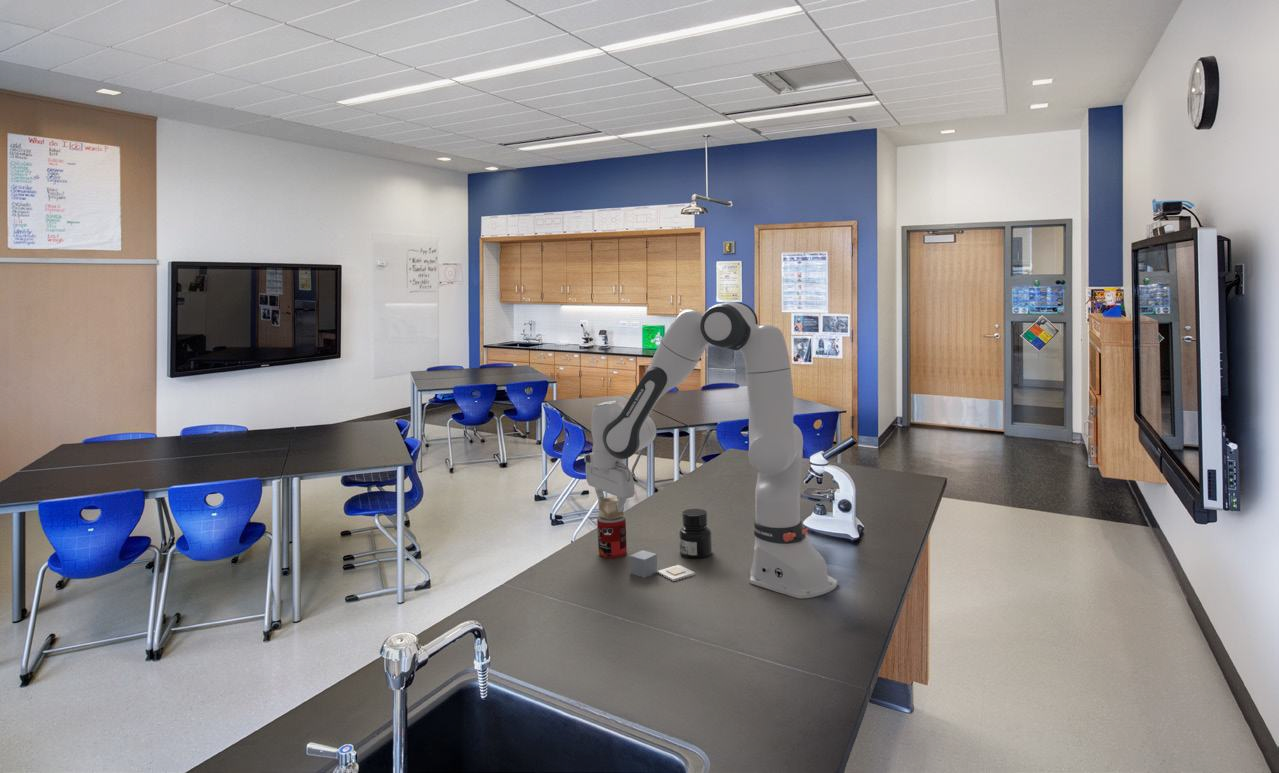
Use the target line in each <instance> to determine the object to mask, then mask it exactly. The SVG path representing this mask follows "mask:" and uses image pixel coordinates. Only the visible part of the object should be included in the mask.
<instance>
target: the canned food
mask: <svg viewBox="0 0 1279 773" xmlns="http://www.w3.org/2000/svg"><path fill="white" fill-rule="evenodd" d="M596 522H597V523H596V524H597V525H596V526H597V540H598V541H597V542H598V543H597V546H598V547H597V548H598V554H599V556H600V557H601V556H602V557H601V558H604V557H605V559H617V558H618V557H619V558H621V557H624V556H625V555H626V554H627V550H628V548H627V547H628V546H627V545H628V544H627V523H626V522H627V521H626V514H624V517H620V518H616V519H612V520H606V519H604V518H602V517H600V516H599V515H597V518H596Z"/></svg>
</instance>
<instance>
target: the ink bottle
mask: <svg viewBox="0 0 1279 773" xmlns="http://www.w3.org/2000/svg"><path fill="white" fill-rule="evenodd" d="M681 515H682V526H683V527H682V528H681V529H680V530H679V541H678V542H679V553H680V555H681V556H682V557H684V558H686V559H692V560H693V559H695V560H697V559H703V558H707V557H710V556H711V554H712V552H713V546H712V545H713V544H712V531H711V528H710V527H708V512H707V510H705V509H702V508H688V509H685V510H683V511H682V514H681Z"/></svg>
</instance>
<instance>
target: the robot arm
mask: <svg viewBox="0 0 1279 773" xmlns="http://www.w3.org/2000/svg"><path fill="white" fill-rule="evenodd" d="M758 320H759V319H758V316H757V314H756V312H755V311H754V309H753V308H752V307H751V306H749V305H748V304H745V303H743V302H733V301H726V302H725V301H724V302H722V303H721V302H720V303H717V304H713V305H712V306H710V307H709V308H708V309H706V311H705V312H704V313H703V312H701V311H698V310H696V309H684V310H682V311H680V313H679V314H678V315H677V317H676V318H675V319H674V320H673V322H671V324H670V325H669V327H668V329H667V330H666V332H665V334H664V335H663V337H662V338H661V340H660V342H659V345H658V347H657V348H656V350H655V353H654V355H653V357H652V359H651V361H650V363H649V365H648V366H647V369H646V370H645V372H644V374H643V376H642V378H641V380H640V381H639V383H638V384H637V385H636V388H635V389H634V391H633V392H632V394H631V395H630V398H629V400H628V401H627V403H626V404H625V405H623V404H622V403H621V402H620V401H618V400H609V401H605V402H600V403H598V404H596V405H594V406H593V408H592V411H591V421H590V422H591V426H590V427H591V428H590V429H591V430H590V431H591V437H592V442H593V444H592V449H591V451H592V452H590V453H586V454H584V456H583V457H584V458H583V460H584V463H585V479H586V482H587V484H588V486H589V487H592V488H594V490H595V491H594V492H595V495H596V496H597V500H598V499H600V498H605V493H607V494H610V495H611V496H616V497H617V500H618V504H617V505H616V511H619V512H622V511H623V512H624V510H625V504H626V500H627V499H630V498H633V497H634V495H635V494H636V493H635V492H636V491H635V481H634V476H633V473H632V471H631V469H630V468H629V467H628V465H627V464H626V463H625V462H626V461H625V460H626V459H629V458H630V457H632V456H633V455H635V454H636V453H638V452H639V451H641V450H643V449H645V448H646V447H648V446H650V445H651V444H652V443H653V442H654V441H655V439H656V437H657V433H658V431H657V429H658V428H657V424H656V423H655V422H656V421H654V419H653V418H652V417H651V416H650V414H651V412H652V411H653V409H654V407H655V406H656V404H657V402H658V401H659V400H660V399H661V398H663V396H664V395H666V394H667V393H669V391H671V390H672V389H674V388H676V387H677V386H679V385H681V384H682V383H683V382H685V381H686V380H687V378H688V377H689V376H690V375H691V374H692V372H693V371H694V369H695V368H696V366H697V365H698V363H699V361H700V359H701V357H702V355H703V353H704V352H705V351H706V349H707V348H708V346H709V345H712V346H715V347H717V348H721V349H727V350H732V351H740V353H741V355H742V357H743V361H744V369H745V372H744V373H745V378H746V386H747V394H748V395H747V396H748V397H747V398H748V405H749V406H748V454H747V455H748V460H749V463H750V465H751V467H753V469H754V470H755V471H756V472H757V479H756V486H755V489H754V490H755V491H754V493H755V498H754V499H755V501H754V502H755V506H754V507H755V519H753V520H754V521H753V535H754V536H755V539H754V540H755V541H754V547H753V552H752V553H753V555H752V556H753V557H752V563H751V569H750V570H749V575H750V577H749V583H750V584H751V585H755V586H758V587H762V588H764V589H767V590H771V591H774V592H777V593H781V594H783V595H787V596H789V597H792V598H796V599H809V598H815V597H819V596H822V595H825V594H828V593H830V592H831V591H832V592H833V590H835V589H836V588H837V586H838V580H837V579H836V578H835V577H832V576H830V575H828V568H827V562H826V560H825V558H824V557H823V556H822V555H821V553H820V552H819V551H817V549H815V547H814V546H813V545H812V544H811V542H809V540H808V539H807V538H806V536H807V535H806V534H808V533H809V531H808V530H809V528H807V527H806V528H804V524H803V522H802V520H801V511H800V510H801V506H800V504H801V503H800V502H801V494H800V493H801V481H802V468H803V454H804V453H803V449H804V448H803V447H804V437H803V433H802V430H801V429H800V427H799V426H798V425H797V424H795V423H794V403H795V402H794V401H795V395H794V386H793V380H792V379H793V378H792V369H791V362H790V356H789V351H788V345H787V342H786V340H785V337H784V334H783V332H782V331H781V329H780V328H778V326H774V325H770V324H762V325H761V324H759V321H758ZM604 492H605V493H604Z"/></svg>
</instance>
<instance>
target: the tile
mask: <svg viewBox="0 0 1279 773" xmlns="http://www.w3.org/2000/svg"><path fill="white" fill-rule="evenodd" d="M656 573H657V574H658V573H659V574H658V575H660V574H661V575H660V576H662V575H663V576H662V577H663V578H665V577H666V579H667V578H668V579H667V580H669V579H670V580H669V581H671V580H672V582H673V581H674V582H677V581H679V579H680V580H682V578H683V579H685V577H686V578H690V577H692V576H695V575H696V572H695V571H693V570H690V569H689V568H686V567H684V566H682V565H681V564H676V565H673V566H669V567H666V568H662V569H659V570H657V572H656ZM676 580H677V581H676Z"/></svg>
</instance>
